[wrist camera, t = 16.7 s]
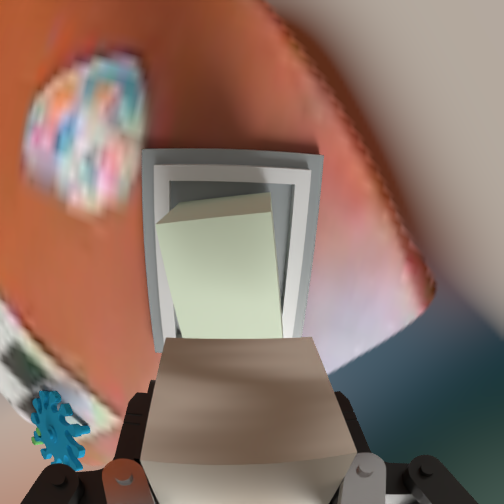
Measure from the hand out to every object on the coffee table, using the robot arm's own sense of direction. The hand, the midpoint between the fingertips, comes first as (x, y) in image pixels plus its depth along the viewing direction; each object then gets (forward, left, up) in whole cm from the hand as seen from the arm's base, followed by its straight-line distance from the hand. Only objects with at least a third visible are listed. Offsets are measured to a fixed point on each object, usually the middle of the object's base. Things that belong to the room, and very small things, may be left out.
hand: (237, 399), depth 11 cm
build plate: (0, 0, -14) cm, 14 cm away
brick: (0, 0, -12) cm, 12 cm away
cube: (0, 0, 0) cm, 0 cm away
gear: (-19, -19, -14) cm, 31 cm away
